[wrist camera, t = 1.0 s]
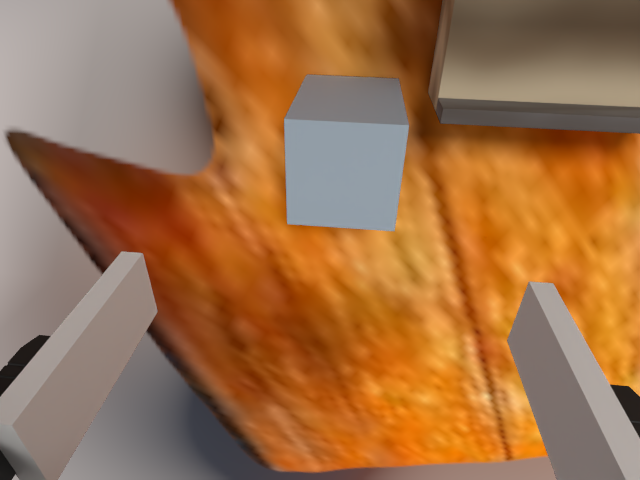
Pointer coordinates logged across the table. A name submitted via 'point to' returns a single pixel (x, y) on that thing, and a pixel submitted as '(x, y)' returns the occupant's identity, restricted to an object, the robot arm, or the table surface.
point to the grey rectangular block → (345, 152)
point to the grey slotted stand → (538, 64)
